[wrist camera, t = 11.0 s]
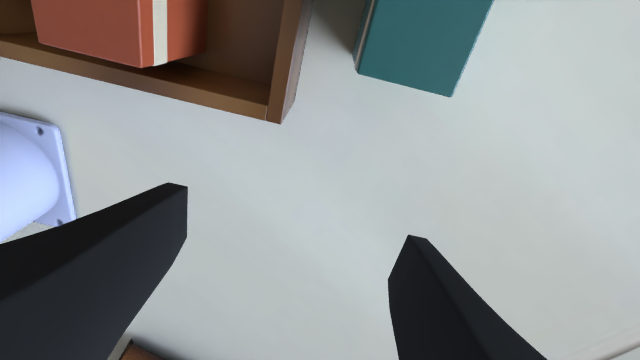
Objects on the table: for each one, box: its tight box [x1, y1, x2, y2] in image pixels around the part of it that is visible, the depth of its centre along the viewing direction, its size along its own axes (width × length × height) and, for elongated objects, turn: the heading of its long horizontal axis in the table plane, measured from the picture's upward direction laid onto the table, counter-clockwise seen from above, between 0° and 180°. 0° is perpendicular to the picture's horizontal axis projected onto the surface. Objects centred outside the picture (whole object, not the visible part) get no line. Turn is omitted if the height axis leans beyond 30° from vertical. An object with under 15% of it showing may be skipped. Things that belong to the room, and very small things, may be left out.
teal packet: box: [352, 0, 494, 97], centre depth 12 cm, size 4×4×6 cm
